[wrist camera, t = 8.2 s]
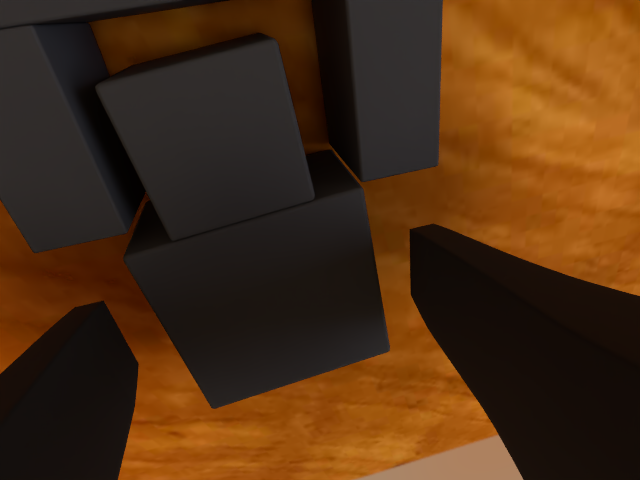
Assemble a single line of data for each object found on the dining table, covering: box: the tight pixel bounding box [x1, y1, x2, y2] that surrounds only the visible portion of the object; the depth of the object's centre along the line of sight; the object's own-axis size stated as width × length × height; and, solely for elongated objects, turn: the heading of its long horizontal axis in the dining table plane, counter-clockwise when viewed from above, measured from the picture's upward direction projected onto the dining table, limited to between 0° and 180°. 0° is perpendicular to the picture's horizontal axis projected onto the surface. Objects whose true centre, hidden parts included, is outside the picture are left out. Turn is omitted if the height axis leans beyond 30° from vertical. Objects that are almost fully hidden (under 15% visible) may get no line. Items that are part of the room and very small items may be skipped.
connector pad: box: [95, 33, 390, 409], centre depth 9 cm, size 8×5×3 cm, turn 12°
